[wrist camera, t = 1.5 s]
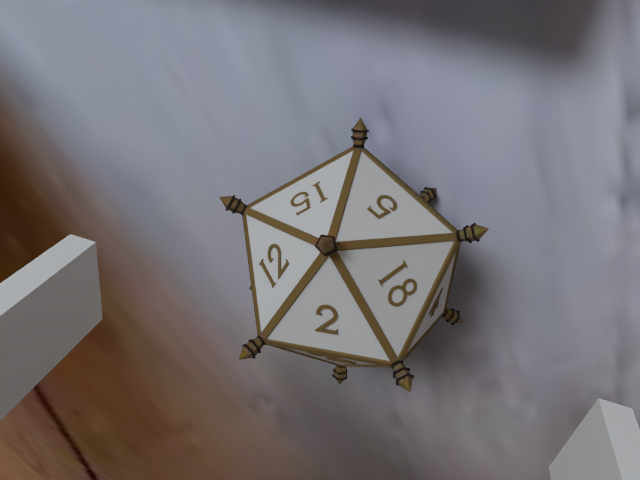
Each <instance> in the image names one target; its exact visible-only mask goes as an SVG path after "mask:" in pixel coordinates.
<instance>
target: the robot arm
mask: <svg viewBox="0 0 640 480" xmlns="http://www.w3.org/2000/svg"><path fill="white" fill-rule="evenodd" d="M101 320H102V307H101V296H100V284H99V273H98V261H97V250H96V242H94V241H91V240H87V239H84V238H81V237H78V236H74V235H71V234H70V235H69V236H67V237H66V238H64V239H63V240H61V241H60V242H59V243H57V244H56V245H54V246H53V247H52V248H50V249H49V250H47V251H46V252H44V253H43V254H42V255H40V256H39V257H37V258H36V259H34V260H33V261H32V262H30V263H29V264H27V265H26V266H24V267H23V268H22V269H20V270H19V271H17V272H16V273H14V274H13V275H12V276H10V277H9V278H7V279H6V280H4V281H3V282H2V283H0V420H1V419H2V418H3V417H4V416H5V415H6V414H7V413H8V412H9V411H10V410H11V409H12V408H13V407H14V406H15V405H16V404H17V403H18V402H19V401H20V400H21V399H22V398H23V397H24V396H25V395H26V394H27V393H28V392H29V391H30V390H31V389H32V388H33V387H34V386H35V385H36V384H37V383H38V382H39V381H40V380H41V379H43V378H44V377H45V376H46V375H47V374H48V373H49V372H50V371H51V370H52V369H53V368H54V367H55V366H56V365H57V364H58V363H59V362H60V361H61V360H62V359H63V358H64V357H65V356H66V355H67V354H68V353H69V352H70V351H71V350H72V349H73V348H74V347H75V346H76V345H77V344H78V343H79V342H80V341H81V340H82V339H83V338H84V337H85V336H86V335H87V334H88V333H89V332H90V331H91V330H92V329H93V328H94V327H95V326H96V325H97V324H98V323H99V322H100V321H101ZM549 471H550V477H551V480H640V429H639V426H638V423H637V421H636V418H635V415H634V412H633V410H632V408H628V407H625V406H622V405H619V404H615V403H612V402H609V401H606V400H603V399H599V398H598V399H597V401H596V402H595V404H594V405H593V406H592V408H591V409H590V410H589V412H588V413H587V415H586V416H585V417H584V419H583V420H582V422H581V423H580V424H579V426H578V427H577V429H576V430H575V431H574V433H573V434H572V436H571V437H570V438H569V440H568V441H567V443H566V444H565V445H564V447H563V448H562V450H561V451H560V452H559V454H558V455H557V456H556V458H555V459H554V461H553V462H552V463H551V465H550V466H549Z"/></svg>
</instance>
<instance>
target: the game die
mask: <svg viewBox="0 0 640 480" xmlns="http://www.w3.org/2000/svg"><path fill="white" fill-rule="evenodd" d="M351 130H352V131H353V136H351V138H352V139H353V142H354V145H353V147H351V148H349V149H347V150H346V151H344V152H342V153H340V154H338V155H337V156H335V157H333V158H331V159H330V160H328V161H326V162H324V163H322V164H321V165H319V166H317V167H315V168H313V169H312V170H310V171H308V172H306V173H304V174H303V175H301V176H299V177H297V178H295V179H294V180H292V181H290V182H288V183H287V184H285V185H283V186H281V187H279V188H278V189H276V190H274V191H272V192H270V193H269V194H267V195H265V196H263V197H261V198H260V199H258V200H256V201H254V202H252V203H251V204H249V205H245V204H244V203H243V202H242V201H241V199H237V198H235V195H233V196H228V197H220V199H221V201H222V202H223V204H224V206H225V207H226V210H230V211H232V213H233V214H234V213H240V214H241V215H242V217H243V225H244V232H245V240H246V248H247V256H248V264H249V271H250V279H251V286H250V288H249V289H251V290H252V295H253V302H254V310H255V318H256V326H257V333H258V336H257V338H255V339H253V340H252V339H251V340H249V342H248V343H247V344H243V345H242V346H243V349H242V352H241V355H240V357H239V359H246V358H254V359H255V355H256V354H257V353H261V351H260V350H261V348H262V347H263V345H265V344H266V345H270V346H273V347H276V348H280V349H283V350H287V351H290V352H293V353H297V354H300V355H304V356H307V357H310V358H314V359H317V360H321V361H324V362H327V363H331V364H334V365H336V367H335V368H334V369H333V371H334V374H333V375H332V376H333V377H334V378H335V379H336V380H337V382H338V383H339V384H341V383H342V382H343V381H344V380H345V379H347V375H346V374H347V369H346V367H345V366H356V367H392V368H393V369H394V372H393V378H396V385H397V386H398V385H399V386H401V387H403V388H404V389H406V390H408V391H409V392H410V391H411V384H412V378H414V376H413V375H411V374H410V372H409V371H410V369H409V368H406V367H405V366H404V365H403V361H404V359H405V358H406V357H407V356H408V355H409V354H410V353H411V351H412V350H413V349H414V348H415V347H416V346H417V345H418V343H419V342H420V341H421V340H422V339H423V338H424V337H425V335H426V334H427V333H428V332H429V331H430V330H431V329H432V327H433V326H434V325H435V324H436V323H437V322H438V320H439V319H440V318H441V317H444V318H445V320H446V321H447V322H450V323H451V324H452V325H454V324H455V323H460V322H463V321H462V318H461V316H460V314H459V312H460V311H454V309H447V308H446V307H447V302H448V297H449V293H450V288H451V284H452V279H453V275H454V270H455V266H456V261H457V256H458V252H459V247H460V243H461V242H462V241H468V242H469V243H472V241H475V240H476V241H477V242H479V239H480V238H481V237H482V236H483V235H484V233H485V232H486V231H487V230H488V228H485V227H482V226H479V225H476V223H473V224H472V225H471V226H468V225H467V226H465V227H464V228H463V229H462V230H457V229H456V228H455V227H454V226H452V225H451V224H450V223H449V222H448V221H447V220H446V219H445V218H444V217H443V216H441V215H440V214H439V213H438V212H437V211H436V210H435V209H434V208H433V207H432V206H430V205H429V204H428V202H430V201H431V200H432V199H433V198H435V197H436V195H435V190H436V188H427V187H425V188H424V191H421V194H420V196H419V195H418V194H417V193H416V192H415V191H414V190H412V189H411V188H410V187H409V186H408V185H407V184H406V183H404V182H403V181H402V180H401V179H400V178H399V177H398V176H396V175H395V174H394V173H393V172H392V171H391V170H390V169H388V168H387V167H386V166H385V165H384V164H383V163H381V162H380V161H379V160H378V159H377V158H376V157H375V156H373V155H372V154H371V153H370V152H369V151H368V150H367V149H365V148H364V143H365V141H366V139H368V137H366V136H367V132H369V130H367V129H366V127H365V125H364V123H363V121H362V119H361V118H360V119H359V121H358V122H357V124H356V125H355V127H354V128H353V129H351Z"/></svg>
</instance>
